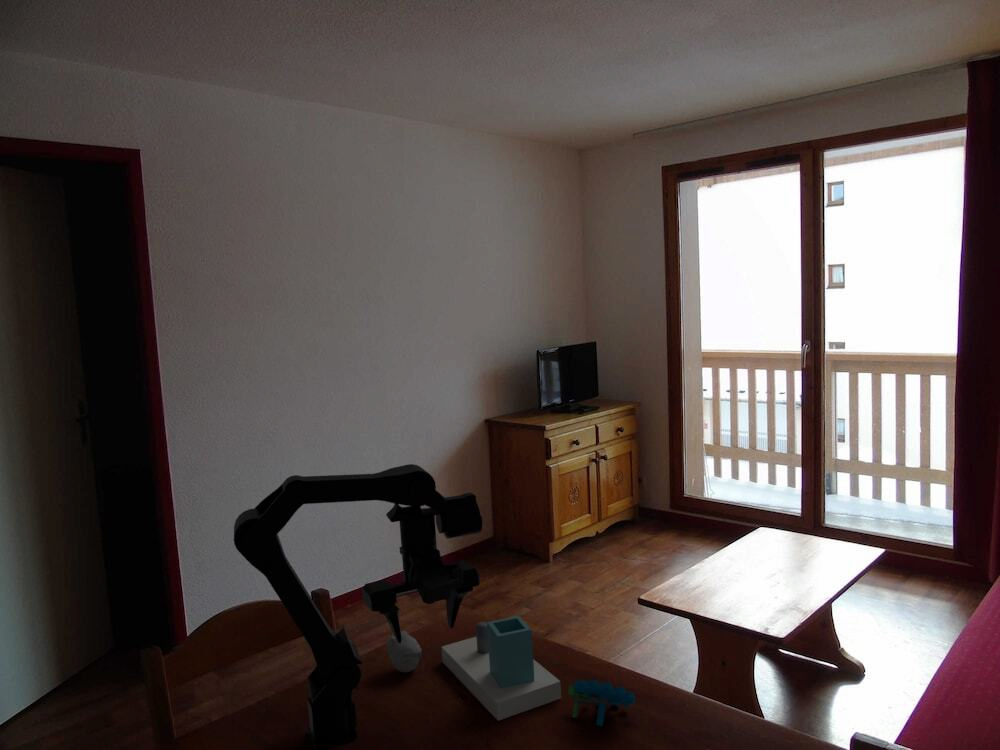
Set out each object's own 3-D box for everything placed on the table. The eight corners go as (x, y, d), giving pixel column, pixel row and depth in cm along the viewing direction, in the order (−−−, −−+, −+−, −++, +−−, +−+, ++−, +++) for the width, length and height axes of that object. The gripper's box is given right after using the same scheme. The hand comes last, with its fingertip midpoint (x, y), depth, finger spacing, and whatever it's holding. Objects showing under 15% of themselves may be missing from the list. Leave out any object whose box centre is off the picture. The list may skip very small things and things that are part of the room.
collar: (500, 688, 119) (497, 636, 118) (490, 671, 124) (486, 622, 124) (534, 680, 121) (531, 629, 120) (522, 664, 126) (519, 615, 125)
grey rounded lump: (403, 658, 137) (401, 623, 137) (430, 668, 133) (428, 632, 132) (380, 672, 133) (377, 636, 132) (407, 682, 128) (404, 645, 128)
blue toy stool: (645, 700, 115) (622, 677, 109) (641, 739, 112) (616, 718, 106) (584, 693, 121) (558, 672, 115) (578, 731, 118) (551, 711, 111)
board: (498, 720, 115) (495, 673, 114) (442, 661, 135) (439, 621, 134) (561, 698, 120) (558, 652, 119) (498, 644, 141) (496, 605, 140)
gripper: (379, 570, 105) (387, 671, 106) (492, 544, 113) (498, 638, 115) (357, 549, 115) (365, 642, 116) (463, 527, 123) (468, 614, 125)
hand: (425, 634), depth 118 cm, fingers open, 9 cm apart
